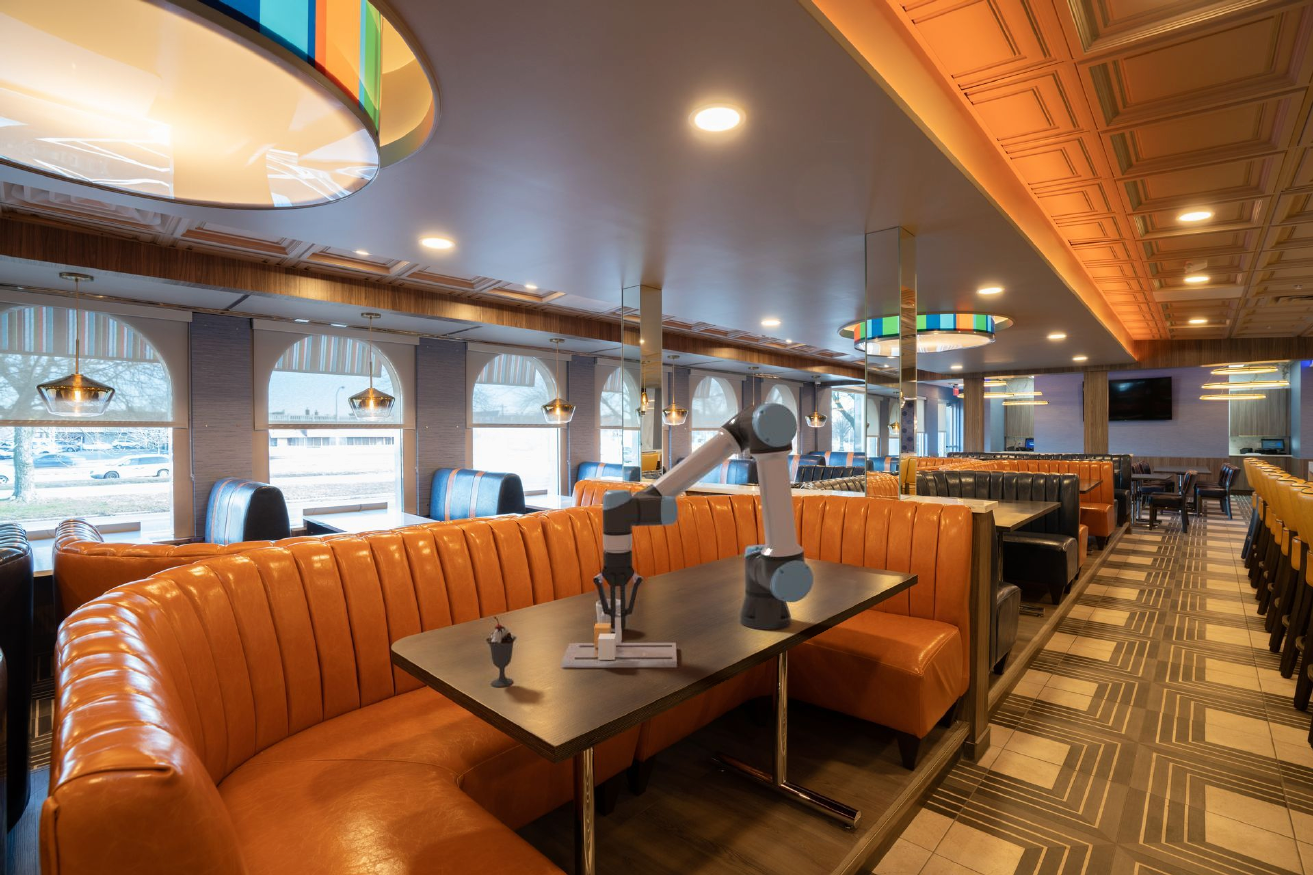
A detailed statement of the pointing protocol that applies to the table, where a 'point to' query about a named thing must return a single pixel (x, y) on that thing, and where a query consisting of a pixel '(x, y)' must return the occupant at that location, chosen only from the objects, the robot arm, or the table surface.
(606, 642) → the block
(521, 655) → the table surface
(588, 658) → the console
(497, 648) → the sundae
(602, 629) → the fader
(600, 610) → the cup
